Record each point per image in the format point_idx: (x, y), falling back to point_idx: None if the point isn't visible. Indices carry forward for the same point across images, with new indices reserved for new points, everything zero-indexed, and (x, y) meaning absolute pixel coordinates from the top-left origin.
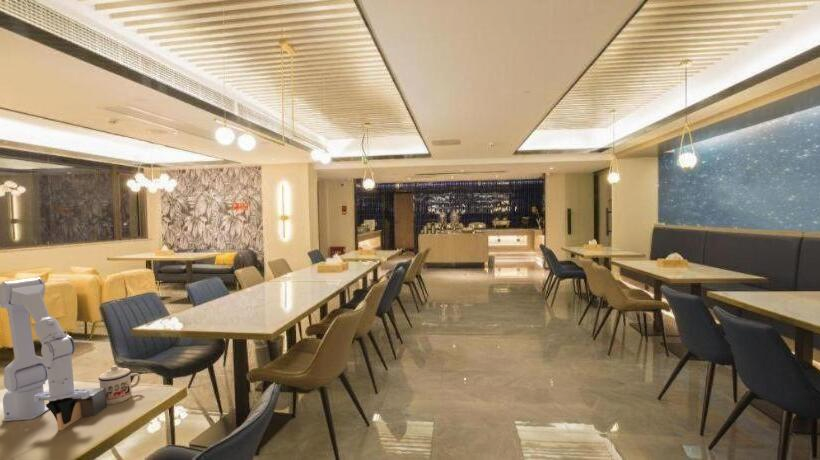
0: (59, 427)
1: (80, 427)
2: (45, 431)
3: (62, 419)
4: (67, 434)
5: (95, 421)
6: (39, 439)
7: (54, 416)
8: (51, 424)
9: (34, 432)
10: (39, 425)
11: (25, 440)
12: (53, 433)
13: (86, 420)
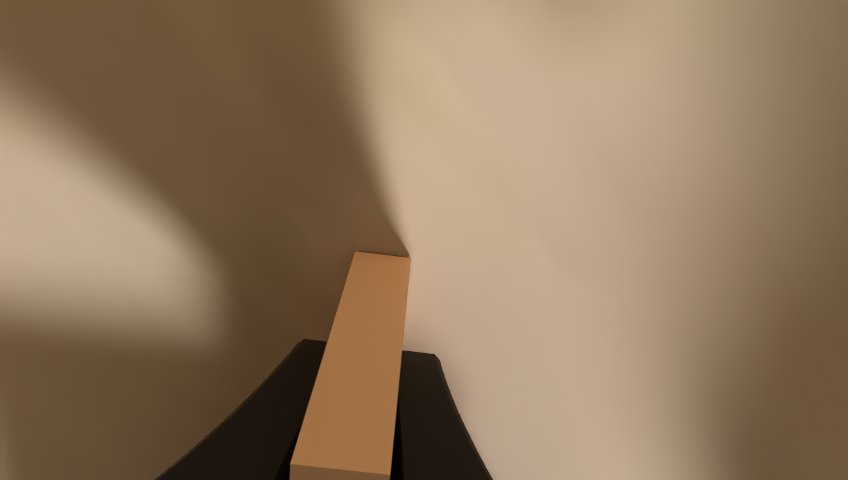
0: (377, 278)
1: (105, 279)
2: (606, 284)
3: None
4: (145, 79)
5: (15, 405)
6: (560, 6)
7: (476, 456)
8: (625, 465)
9: (767, 294)
10: (782, 476)
11: (805, 34)
12: (431, 182)
13: None
